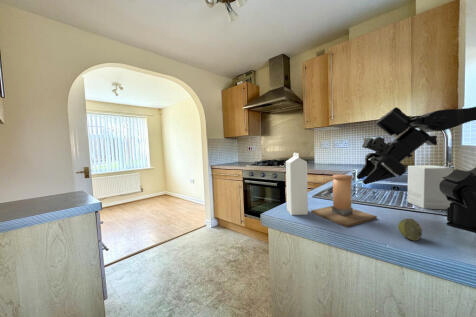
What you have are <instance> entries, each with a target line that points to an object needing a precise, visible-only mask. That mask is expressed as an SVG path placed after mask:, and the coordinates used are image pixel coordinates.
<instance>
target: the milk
mask: <svg viewBox="0 0 476 317" xmlns="http://www.w3.org/2000/svg"><path fill="white" fill-rule="evenodd" d="M285 176H286V177H285V184H286V186H285V187H286V210H287V212H288V213H290V215H291V216H302V215H304V216H306V215H308V214H309V205H308V204H309V201H308V200H309V198H308V197H309V196H308V193H309V191H308V162H307V161H306V160H305V159H302V158H300V154H299V152H293V154H292V157H290V158H288V159H287V160H285Z"/></svg>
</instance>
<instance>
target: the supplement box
mask: <svg viewBox="0 0 476 317" xmlns="http://www.w3.org/2000/svg"><path fill="white" fill-rule="evenodd" d="M453 171H454V167H449V166H441V165H433V164H432V165H430V164H429V165H427V164H426V165H407V199H406V200H407V201H406V202H408V203H409V204H410V205H411V204H412V205H414V206H416V207H419V208H421V209H423V210H427V209H428V210H447V208H448V207H450V203H452V202H451V201H448V200H447V198H446V196H445V195H444V194H443V193H442V192H441V191H440V188H439V186H440V185H439V184H440V182H441V181H442V180H444V179H443V178H442V177H446V176H448V175H450V174H451V173H452V172H453Z"/></svg>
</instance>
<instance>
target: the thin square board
mask: <svg viewBox="0 0 476 317" xmlns="http://www.w3.org/2000/svg"><path fill="white" fill-rule="evenodd" d="M310 212H311V213H310V214H314V215H316V216H318V217H321V218H324V219H326V220H328V221H330V222H333V223H334V224H337V225H341V226H343V227H345V228H348V227H352V226H356V225H358V224H364V223H367V222H369V221H370V222H371V221H373V220H377V219H378V216H377V215H373V214H371V213H367V212H365V211H361V210H358V209H355V208H353V206H351V209H348V210H343V209H337V208H335V207H333V205H330V206H325V207H321V208H316V209H312V210H310Z"/></svg>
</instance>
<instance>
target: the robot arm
mask: <svg viewBox="0 0 476 317" xmlns="http://www.w3.org/2000/svg"><path fill="white" fill-rule="evenodd" d="M473 121H476V106H472V107H467V108H449V109H446V108H445V109H438V110H433V111H431V112H427V113H424V114H422V115H420V116H417V117H413V118H410V116H408V115H407V114H405V113H404V112H403V111H402V110H401V109H400V108H399V107H393V108H392V109H391V110H390V111H388V112H387V113H386V114H384V115H382V116H381V117H380V118H379V119H378V120H377V121H375V123H374V124H375V125H376V126H377V127H379V128H380V129H381V130H382V131H383V132H385V134H386V133H387V134H388V136H394V135H395V136H397V137H396V138H395V139H394V140H393V141H388V142H385V138H384V137H381V136H377V137H375V138H372V137H367V138H366V139H365V141H364V142H363V144H362V146H361V147H362V148H364V149H368V150H371V151H373V152H368V153H367V154H366V155H365V156H364V165H363V167H362V168H361V170H360V171H359V172H358V174H357V175H356V179H358V180H361V179H363V180H362V183H363V185H368V184H369V185H370V184H372V183H376V182H380V181H383V180H387V179H391V178H396V177H401V176H402V175H404V174H406V171H407V166H405V165H404V164H403V163H402V162H403V161H404V160H405V159H406V158H409V159H410V158H412V157H413V154H414V152H415V151H417V150H418V149H419V148H420V147H422V146H423V145H424V144H426V145H427V146H437V145H438V141H437V137H438V136H437V135H430V134H429V133H432V132H433V133H435V132H444V131H447V130H450V129H452V128H455V127H459V126H461V125H464V124H466V123H470V122H473ZM442 178H443V179H444V180H442V181H441V182H440V184H439V185H440V186H439V188H440V191H441V192H442V193H443V194H444V195H445V196H446V198H447V200H448V201H451V202H452V203H450V207H448V208H447V209H446V221H447V222H446V223H445V224H446V225H447V226H451V227H453V228H458V229H462V230H467V231H469V232H470V231H471V232H474V233H476V166H475V167H474V168H471V169H469V170H464V169H463V170H461V169H455V170H454V169H453V172H452V173H451V174H450V175H448V176H446V177H442Z"/></svg>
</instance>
